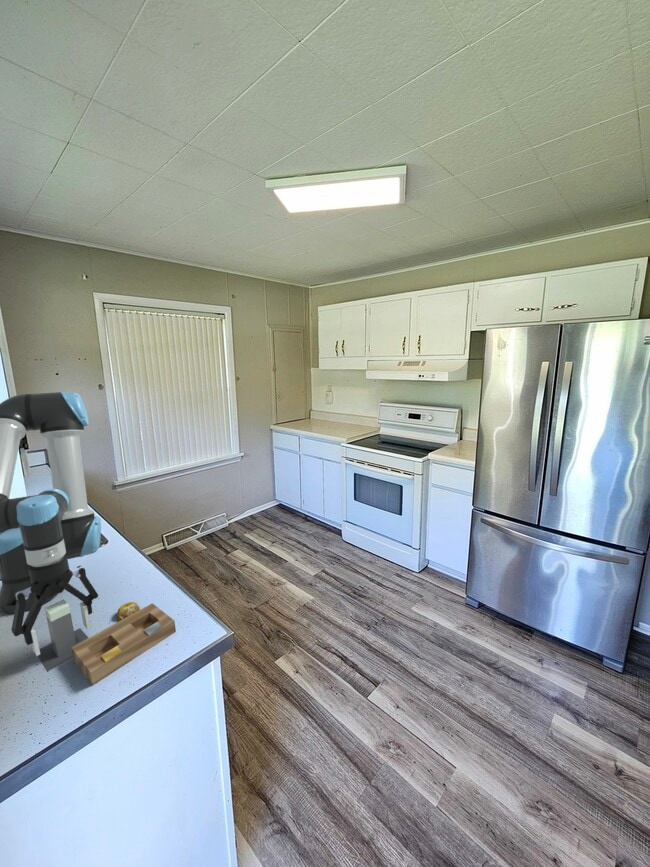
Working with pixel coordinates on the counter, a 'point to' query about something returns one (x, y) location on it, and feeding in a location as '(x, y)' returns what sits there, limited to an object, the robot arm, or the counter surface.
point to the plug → (60, 627)
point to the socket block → (122, 642)
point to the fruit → (127, 610)
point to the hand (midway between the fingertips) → (63, 638)
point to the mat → (51, 658)
